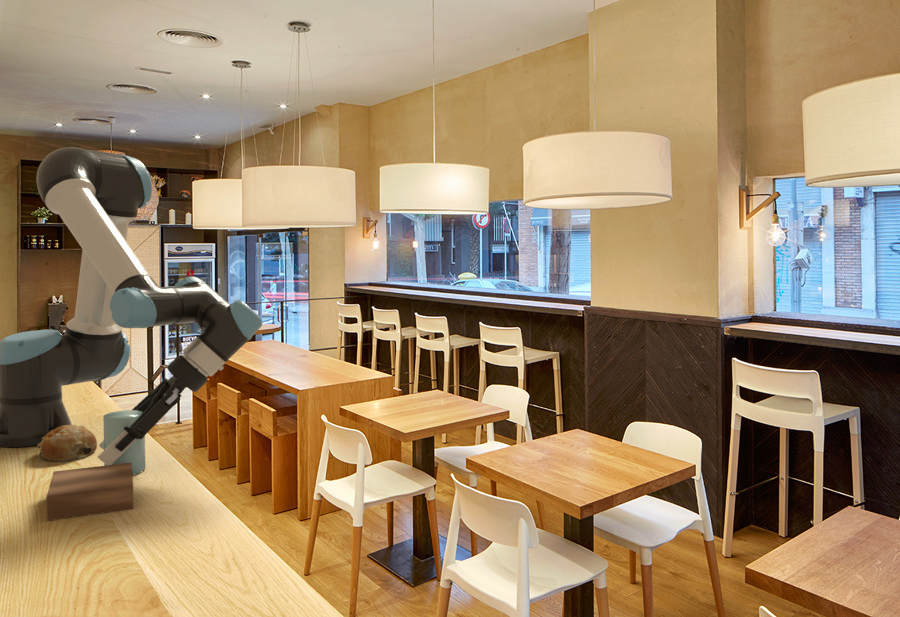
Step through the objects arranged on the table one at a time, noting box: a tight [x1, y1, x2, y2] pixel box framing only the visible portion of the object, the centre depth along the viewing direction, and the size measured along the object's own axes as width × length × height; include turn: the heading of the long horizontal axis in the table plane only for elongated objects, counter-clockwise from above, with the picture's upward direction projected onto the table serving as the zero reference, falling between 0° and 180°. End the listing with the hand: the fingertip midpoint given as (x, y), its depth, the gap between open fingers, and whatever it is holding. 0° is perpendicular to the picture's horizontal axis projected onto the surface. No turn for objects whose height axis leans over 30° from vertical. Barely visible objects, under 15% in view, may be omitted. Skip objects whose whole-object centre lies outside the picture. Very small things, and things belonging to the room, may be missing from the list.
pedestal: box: [46, 463, 134, 522], centre depth 106 cm, size 12×12×4 cm
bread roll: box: [36, 424, 98, 462], centre depth 129 cm, size 10×10×8 cm
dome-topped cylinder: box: [102, 409, 146, 476], centre depth 121 cm, size 7×7×11 cm
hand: (104, 455), depth 119 cm, fingers closed on dome-topped cylinder, 7 cm apart
